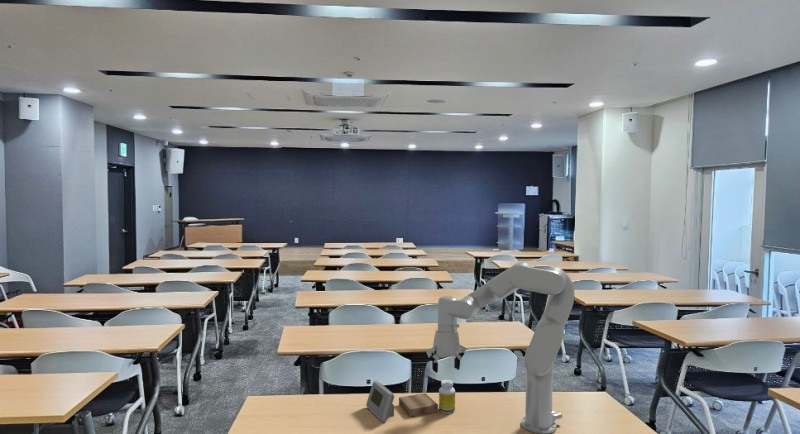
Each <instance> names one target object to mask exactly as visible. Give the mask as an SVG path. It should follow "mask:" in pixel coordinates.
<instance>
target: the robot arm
mask: <svg viewBox="0 0 800 434" xmlns="http://www.w3.org/2000/svg"><path fill="white" fill-rule="evenodd" d="M518 290H523V291H528V292H534V293H538V294H542V295H543V294H544V295H549V298H548V301H547V303H546V306H545V308H544V311H543V313H542V315H541V318H540V320H539V321H538V322H537V324H536V327H535V330H534V333H533V335H532V337H531V340H530V342H529V345H528V346H527V348H526V350H525V354H524V357H523V366H524V368H525V370H526V371H525V416H524V417H523V418H521V420H520V424H521V426H522V428H524V429H525V430H526V431H529V432H531V433H535V434H552V433H555V431H556V430H557V423H556V420H561V419H563V414H562V413H560V412H558V413H555V411H553V384H554V383H553V379H554V378H553V376H554V374H553V373H554V362H555V360H556V358H557V355H558V352H559V350H560V348H561V345H562V342H563V339H564V333H565V332H564V331H565V327H566V324H567V322H568V319H569V317H570V314H571V311H572V309H573V306H574V301H575V287H574V284H573V281H572V279H571V278H570V276H569V275H568V274H567V273H566V272H565V270H563V269H562V268H560V267H557V266H554V267H553V266H552V267H549V268H547V269H542V268H535V267H532V266H531V265H530V264H529V263H528V262H523V261H518V262H516V263H515V264H513V265H512V266H510V267H508V268H507V269H505V270H504V271H502V272H500V273H499V274H497V275H496V276H494V277H493V278H491V279H489V280H488V281H487V282H486V283H484V284H483V285H481V286H480V287H478V288H477V289H475V290H474V291H471V293H468V294H467V295H465V296H464V297H463V298H461V299H458V300H457V298H456V297H454V296H448V295H444V296H441V297H439V298H438V304H437V305H438V306H437V330H435V333H434V336H433V337H434V338H433V343H432V344H433V345H432V347H431V348H430V349H428V350H427V351H426V352H425V353H426V354H427V355H426V356H428V358H429V359H430V360H431V362H432V364H431V368H432V371H433V372H434V373H436V374H437V373H438V372H439V363H438V361H439V360H440V358H450V357H454V358H453V359H454V362H453V364H454V365H453V367H454V369H456V370H458V371H459V370H460V367H461V361H462V358H463V357H464V355H465V353H466V351H467V347H465V346H463V345H462V344H460V337H459V332H458V328H460V324H459V323H458V322H457V320H458V319H460V320H469V319H471V318H473V316H474V315H475V314H476V313H477V312H479V311H481V310H482V309H484V308H485V307H486V306H487V305H490V304H491V303H494V302H496V301H501V300H503V299H505V298H506V297H508V296H510V295H512V294H513V293H514V292H517V291H518ZM432 354H433V355H432Z"/></svg>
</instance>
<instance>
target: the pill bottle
mask: <svg viewBox="0 0 800 434" xmlns="http://www.w3.org/2000/svg"><path fill="white" fill-rule="evenodd" d="M440 385H441V387H440V388H439V389H438V411H439V412H441V413H443V414H453V413H454V412H455V410H456V390H455V388H454V382H453V380H450V379H443V380H441V383H440Z"/></svg>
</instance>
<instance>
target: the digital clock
mask: <svg viewBox="0 0 800 434" xmlns="http://www.w3.org/2000/svg"><path fill="white" fill-rule="evenodd" d="M394 400H395V394H394V393H393V392H392V391H391V390H390V389H389V388H387V387H386V386H385V385H383V384H382V383H380V382H379V381H377V380H374V381H373V382H372V385H371V388H370V391H369V395H368V398H367V400H366V404H365V406H366V408H367V409H369V411H370V412H371V413H372V414H373V415H374V416H375V417H376V418H378V420H380V421H382V423H386V422H387V421H388V418H392V417H394V416H395V405H394Z"/></svg>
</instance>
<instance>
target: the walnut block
mask: <svg viewBox="0 0 800 434" xmlns="http://www.w3.org/2000/svg"><path fill="white" fill-rule="evenodd" d="M398 405H399V406H400V407H401V409H402V410H404V412H405V413H406V414H407V416H408V417H409V418H413V417H419V416H425V415H430V414H434V413H438V412H439V403H437V402H436V401H435V400H433V398H431V397H430V396H429V395H428V394H427V393H425V392H423V393H418V394H412V395H407V396H405V395H404V396H399V397H398Z"/></svg>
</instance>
